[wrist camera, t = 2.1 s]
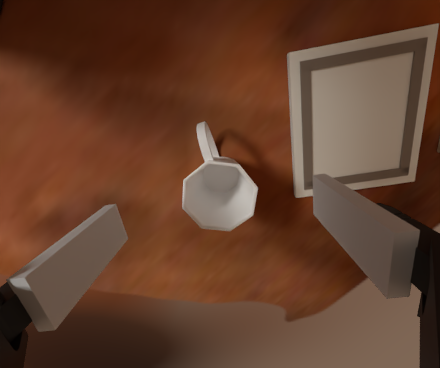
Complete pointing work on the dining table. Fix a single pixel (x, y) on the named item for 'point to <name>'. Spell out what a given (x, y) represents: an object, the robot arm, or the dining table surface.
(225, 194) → the cup
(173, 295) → the dining table surface
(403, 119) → the board
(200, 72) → the dining table surface
